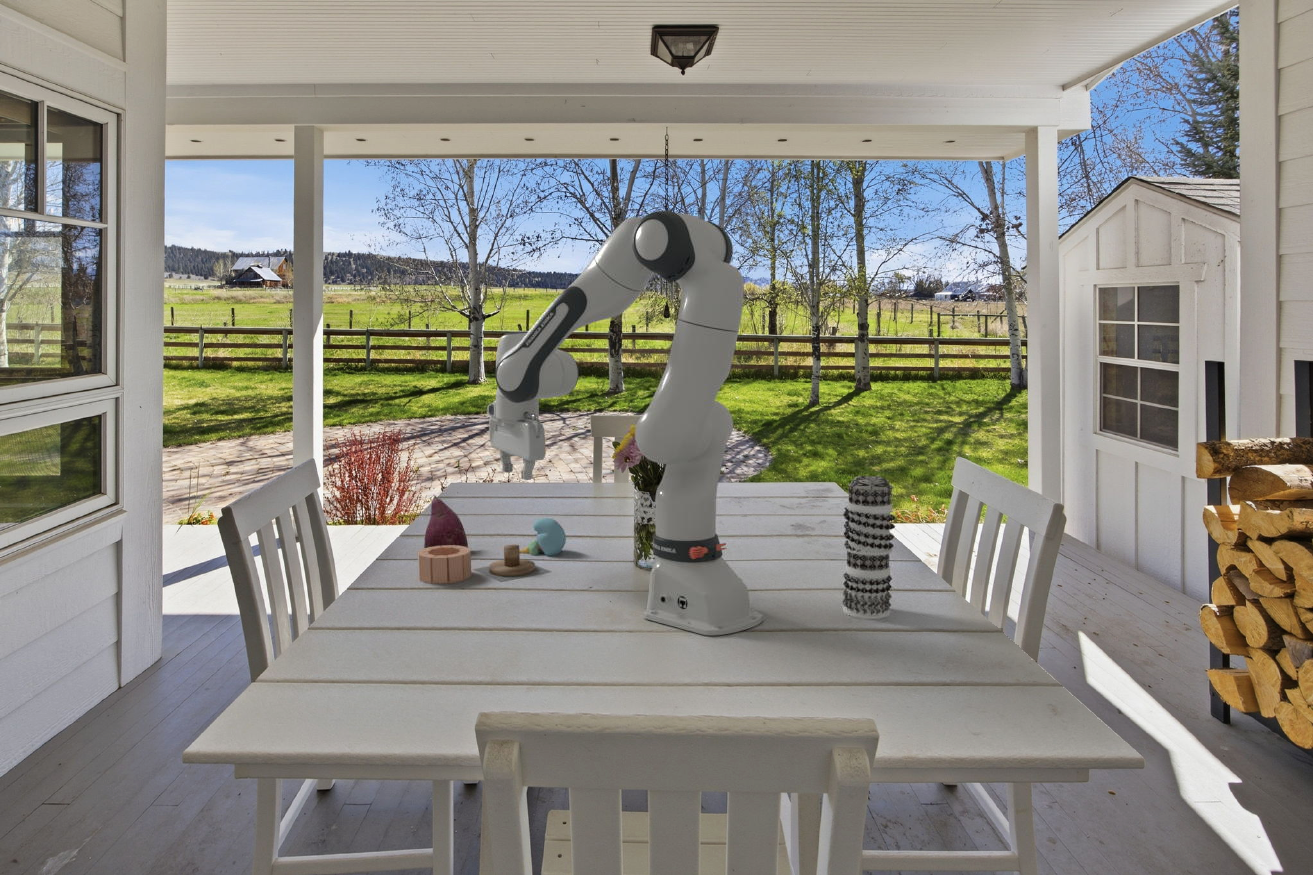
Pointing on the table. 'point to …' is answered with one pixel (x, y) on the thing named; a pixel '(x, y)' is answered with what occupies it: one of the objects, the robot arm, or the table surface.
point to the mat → (500, 578)
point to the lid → (511, 564)
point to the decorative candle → (868, 548)
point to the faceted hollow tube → (444, 564)
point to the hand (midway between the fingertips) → (516, 475)
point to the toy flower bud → (546, 538)
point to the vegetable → (444, 527)
